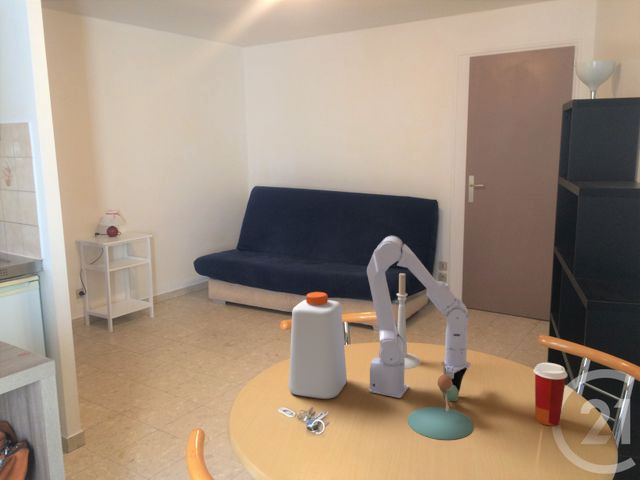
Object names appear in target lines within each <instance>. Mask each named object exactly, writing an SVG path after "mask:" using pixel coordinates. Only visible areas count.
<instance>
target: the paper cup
mask: <svg viewBox="0 0 640 480" xmlns="http://www.w3.org/2000/svg"><path fill="white" fill-rule="evenodd" d="M532 371H533V373H534V380H535V381H534V384H535V385H534V391H535V392H534V397H535V398H534V400H535V401H534V402H535V403H534V404H535V420H536V422H538V423H539V424H541V425H543V426H544V425H545V426H550V427H551V426H552V427H553V426H557V425H559V424H560V421H561V414H562V410H563V409H562V408H563V400H564V393H565V388H566V387H565V386H566V378H567V377H568V373H567V371H566V369H565V367H564V366H562V365H560V364H557V363H552V362H540V363H538V364H536V366H534V369H532Z"/></svg>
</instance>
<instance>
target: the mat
mask: <svg viewBox="0 0 640 480" xmlns="http://www.w3.org/2000/svg"><path fill="white" fill-rule="evenodd" d="M407 423H408V425H409V427H410V428H411V429H412V430H413V431H414V432H416V434H419V435H422V436H424V437H425V438H430V439H435V440H439V441H440V440H441V441H443V440H444V441H452V440H460V439H463V438H465V437H467V436H469V435H470V434H471V433H472V432H473V429H474V424H473V421H472V420H471V418H469V416H467V415H466V414H464V413H462V412H460V411H458V410H455V409H451V408H449V411H448V412H447V411H446V407H440V406H428V407H427V406H426V407H422V408H418V409H416V410H414V411H412V412H411V413H410V414H409V416H408V418H407Z"/></svg>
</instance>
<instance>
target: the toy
mask: <svg viewBox="0 0 640 480" xmlns="http://www.w3.org/2000/svg"><path fill="white" fill-rule="evenodd" d="M441 366H442V373H443V374H442V375H439V377H438V379H437V386H438V388H439V390H440V391H441V393H442V398H443V399H444V400H445V408H446V411H447V412H448V411H449V409H450V407H449V402H455V401H457V402H458V398H459V394H460V391H458V389H457V388H456V386H454V385H452V380H451V378H450V377H449V376H448V375H446V374H445V366H446V364H445V363H444V360H443V361H442V362H441Z"/></svg>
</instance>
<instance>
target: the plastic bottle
mask: <svg viewBox="0 0 640 480" xmlns="http://www.w3.org/2000/svg"><path fill="white" fill-rule="evenodd" d="M328 296H329V295H328V294H327V293H326V292H321V291H314V292H312V291H311V292H309V293H307V294H306V296H305V298H306V299H304V300H302V301H301V302H299V303H297V305H296V306H294V307H293V308H292V311H291V314H292V315H291V332H290V349H289V350H290V353H289V372H288V390H289V391H290V393H291V394H293V395H296V396H299V397H300V396H301V397H308V398H314V399H321V400H330V399H333V398H336V397H338V395H339V394H340V392H342V390H343V388H344V386H345V385H346V384H347V381H348V378H347V377H348V375H347V367H346V366H347V363H346V353H345V352H346V350H345V339H344V337H345V335H344V326H343V325H344V324H343V313H342V311H343V310H342V304H341V303H340V302H339V301H336V300H331V299H329V297H328ZM328 299H329V300H328Z"/></svg>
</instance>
